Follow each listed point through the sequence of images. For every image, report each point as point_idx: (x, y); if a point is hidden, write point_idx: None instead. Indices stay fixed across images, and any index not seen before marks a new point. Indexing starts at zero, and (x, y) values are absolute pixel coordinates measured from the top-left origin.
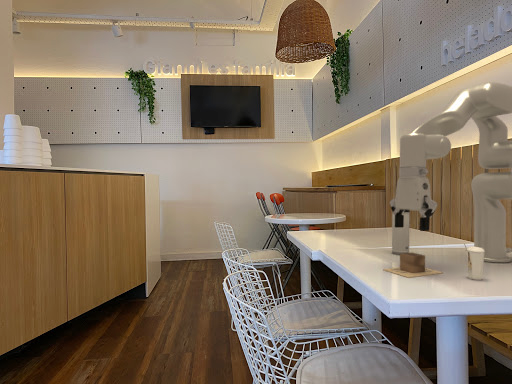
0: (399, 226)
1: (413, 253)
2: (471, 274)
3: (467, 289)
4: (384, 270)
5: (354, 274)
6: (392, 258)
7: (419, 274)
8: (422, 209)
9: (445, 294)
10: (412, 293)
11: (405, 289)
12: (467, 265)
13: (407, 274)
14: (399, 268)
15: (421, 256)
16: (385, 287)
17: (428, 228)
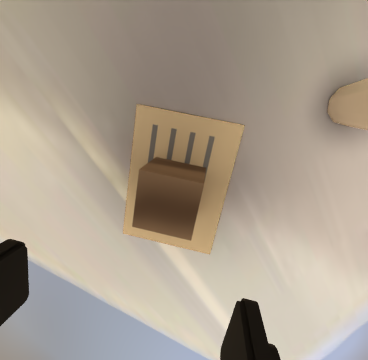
0: (23, 279)
1: (154, 183)
2: (351, 126)
3: (360, 241)
4: (129, 233)
5: (121, 309)
6: (11, 52)
7: (214, 211)
8: None
9: (331, 309)
10: (279, 342)
11: None
12: (350, 114)
13: (194, 235)
14: None
15: (199, 200)
16: None
17: (257, 319)
